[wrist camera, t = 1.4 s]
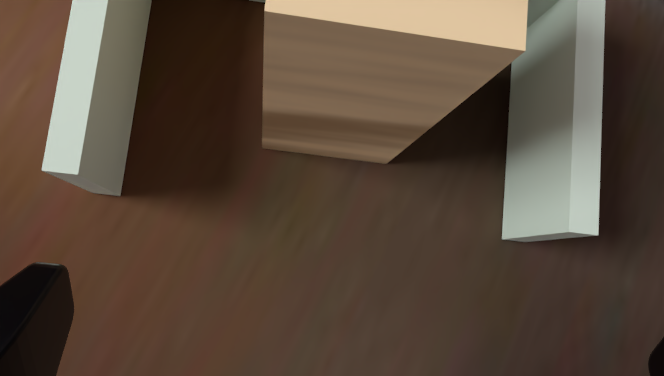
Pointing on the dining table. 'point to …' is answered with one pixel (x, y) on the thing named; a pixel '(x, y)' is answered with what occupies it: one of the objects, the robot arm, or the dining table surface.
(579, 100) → the open-side box
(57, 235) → the dining table surface
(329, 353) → the dining table surface
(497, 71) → the maple block
